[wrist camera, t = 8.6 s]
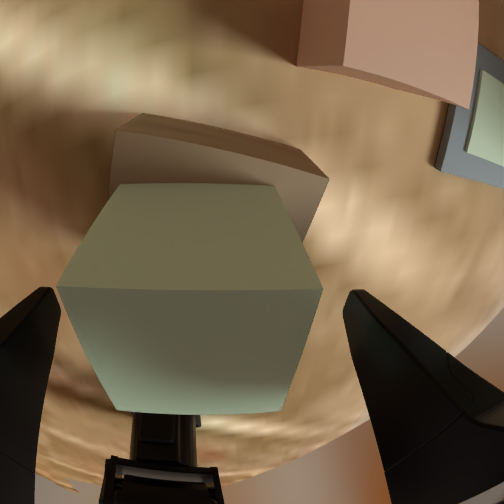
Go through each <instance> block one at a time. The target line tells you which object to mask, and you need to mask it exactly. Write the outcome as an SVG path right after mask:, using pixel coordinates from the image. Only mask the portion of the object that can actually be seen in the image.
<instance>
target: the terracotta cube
mask: <svg viewBox="0 0 504 504" xmlns="http://www.w3.org/2000/svg"><path fill="white" fill-rule="evenodd" d="M478 28H479V0H303V10H302V20H301V29H300V38H299V47H298V56H297V64H296V66H298V67H304V68H310V69H316V70H321V71H326V72H331V73H336V74H341V75H345V76H349V77H354V78H358V79H362V80H366V81H369V82H373V83H377V84H380V85H384V86H387V87H390V88H394V89H397V90H401V91H406V92H410V93H414V94H418V95H422V96H426V97H430V98H433V99H437V100H440V101H444V102H447V103H450V104H453V105H456V106H460V107H463V108H466V109H468V110H469V106H470V101H471V95H472V88H473V82H474V74H475V66H476V57H477V45H478Z"/></svg>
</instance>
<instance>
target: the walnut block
mask: <svg viewBox="0 0 504 504" xmlns="http://www.w3.org/2000/svg"><path fill="white" fill-rule="evenodd" d="M328 182H329V178H328V177H327V176H326V175H325V174H324V173H323V172H322V171H321V170H320V169H319V168H318V167H317V166H316V165H315V164H314V163H313V162H312V161H311V160H310V159H309V158H308V157H307V156H306V155H305V154H304V153H303V152H302V151H301V150H299V149H296V148H293V147H290V146H286V145H283V144H279V143H276V142H272V141H269V140H265V139H262V138H258V137H254V136H250V135H246V134H243V133H239V132H235V131H230V130H226V129H222V128H218V127H213V126H209V125H204V124H199V123H195V122H190V121H185V120H179V119H174V118H169V117H163V116H157V115H151V114H145V113H142V114H141V115H139V116H137V117H136V118H134V119H133V120H131V121H129V122H128V123H126V124H125V125H123V126H121V127H120V128H118V129H117V130H116V133H115V139H114V146H113V154H112V161H111V170H110V180H109V190H108V200H109V199H110V197H111V196H112V195H113V193H114V192H115V190H116V189H117V188H118V186H119V185H120V184H145V183H212V184H247V185H270V186H275V187H276V189H277V191H278V194H279V196H280V198H281V200H282V202H283V204H284V206H285V208H286V210H287V212H288V214H289V216H290V218H291V220H292V222H293V224H294V226H295V228H296V231H297V233H298V235H299V237H300V239H301V241H302V243H303V240H304V238H305V236H306V234H307V231H308V229H309V227H310V224H311V222H312V220H313V217H314V215H315V213H316V210H317V208H318V206H319V203H320V201H321V198H322V196H323V194H324V191H325V189H326V186H327V184H328Z"/></svg>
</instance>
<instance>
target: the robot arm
mask: <svg viewBox="0 0 504 504" xmlns="http://www.w3.org/2000/svg"><path fill="white" fill-rule="evenodd" d="M60 316H61V309H60V305H59V303H58V300H57V298H56V295H55V293H54V290H53V289H52V288H51V287H39V288H38V289H37V290H35V291H34V292H33V293H31V294H30V295H29V296H27V297H26V298H25V299H24V300H22V301H21V302H20V303H18V304H17V305H16V306H15V307H13V308H12V309H11V310H10V311H8V312H7V313H6V314H5V315H4V316H2V317H1V318H0V504H34V490H35V467H36V455H37V445H38V436H39V428H40V422H41V415H42V409H43V403H44V398H45V393H46V388H47V383H48V378H49V374H50V369H51V365H52V361H53V356H54V350H55V344H56V338H57V332H58V326H59V321H60ZM343 319H344V324H345V328H346V333H347V337H348V342H349V347H350V352H351V356H352V360H353V363H354V367H355V370H356V373H357V376H358V379H359V383H360V386H361V389H362V392H363V396H364V399H365V402H366V406H367V409H368V413H369V416H370V420H371V423H372V427H373V430H374V434H375V438H376V441H377V445H378V449H379V453H380V456H381V460H382V464H383V468H384V471H385V472H384V473H385V477H386V481H387V486H388V490H389V494H390V498H391V503H392V504H504V392H503V391H501V390H500V389H498V388H497V387H495V386H494V385H492V384H491V383H489V382H488V381H486V380H485V379H483V378H482V377H480V376H479V375H478V374H476V373H474V372H473V371H472V370H470V369H469V368H467V367H466V366H465V365H463V364H462V363H461V362H460V361H458V360H457V359H456V358H454V357H453V356H452V355H451V354H449V353H448V352H447V353H446V351H445V350H444V349H443V348H441V347H440V346H439V345H438V344H436V343H435V342H434V341H432V340H431V339H430V338H429V337H427V336H426V335H425V334H423V333H422V332H421V331H419V330H418V329H417V328H415V327H414V326H413V325H411V324H410V323H409V322H407V321H406V320H405V319H403V318H402V317H401V316H399V315H398V314H397V313H395V312H394V311H393V310H391V309H390V308H389V307H387V306H386V305H385V304H383V303H382V302H380V301H379V300H378V299H376V298H375V297H374V296H372V295H371V294H370V293H368V292H367V291H365V290H363V289H355V290H351V291H350V293H349V295H348V298H347V300H346V303H345V306H344V308H343ZM131 413H132V415H133V422H132V433H131V445H130V460H129V459H123V458H118V456H113V455H111V459H106V462H105V473H104V479H103V484H102V488H101V493H100V498H99V504H224V499H223V495H222V490H221V484H220V479H219V474H218V468H217V467H210V468H204V467H197V453H196V427H201V418H200V415H182V414H158V413H143V412H131ZM122 475H124V478H122Z"/></svg>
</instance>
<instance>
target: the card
mask: <svg viewBox="0 0 504 504" xmlns="http://www.w3.org/2000/svg"><path fill="white" fill-rule="evenodd" d="M434 168H436V169H438V170H439V171H441V172H445V173H449V174H453V175H457V176H460V177H464V178H468V179H472V180H475V181H479V182H482V183H485V184H489V185H492V186H495V187H499V188H502V189H504V61H502V60H501V59H500V58H498V57H497V56H496V55H494V54H493V53H491V52H490V51H489V50H487V49H486V48H484V47H483V46H481V45H480V44H479V43H478V45H477V57H476V66H475V74H474V82H473V88H472V95H471V101H470V106H469V110H468V109H466V108H463V107H460V106H456V105H453V104H450V103H449V107H448V112H447V117H446V122H445V126H444V131H443V135H442V140H441V144H440V148H439V152H438V156H437V160H436V163H435V167H434Z"/></svg>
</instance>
